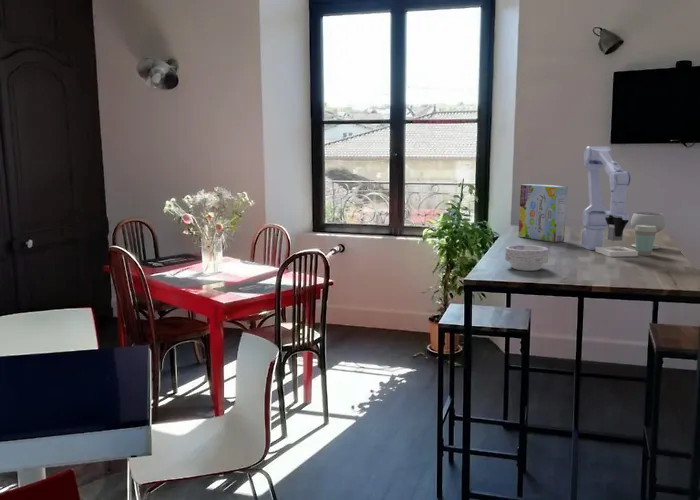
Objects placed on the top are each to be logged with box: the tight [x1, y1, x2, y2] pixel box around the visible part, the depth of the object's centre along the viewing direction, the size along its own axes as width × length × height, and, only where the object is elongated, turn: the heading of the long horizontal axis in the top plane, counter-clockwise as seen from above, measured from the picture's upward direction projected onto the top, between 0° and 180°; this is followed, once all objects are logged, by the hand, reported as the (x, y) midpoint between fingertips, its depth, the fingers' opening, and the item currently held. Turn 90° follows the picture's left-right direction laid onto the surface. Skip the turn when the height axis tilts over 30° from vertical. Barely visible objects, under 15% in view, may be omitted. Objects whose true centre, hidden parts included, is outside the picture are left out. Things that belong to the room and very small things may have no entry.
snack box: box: [518, 183, 568, 243], centre depth 306 cm, size 22×9×26 cm, turn 34°
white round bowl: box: [504, 244, 549, 272], centre depth 237 cm, size 15×15×8 cm
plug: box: [607, 224, 624, 242], centre depth 260 cm, size 4×4×6 cm
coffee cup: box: [634, 225, 658, 257], centre depth 267 cm, size 8×8×12 cm
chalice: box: [630, 211, 667, 250], centre depth 285 cm, size 14×14×15 cm
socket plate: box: [595, 246, 639, 258], centre depth 269 cm, size 12×12×2 cm
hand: (615, 235), depth 261 cm, fingers closed on plug, 4 cm apart
